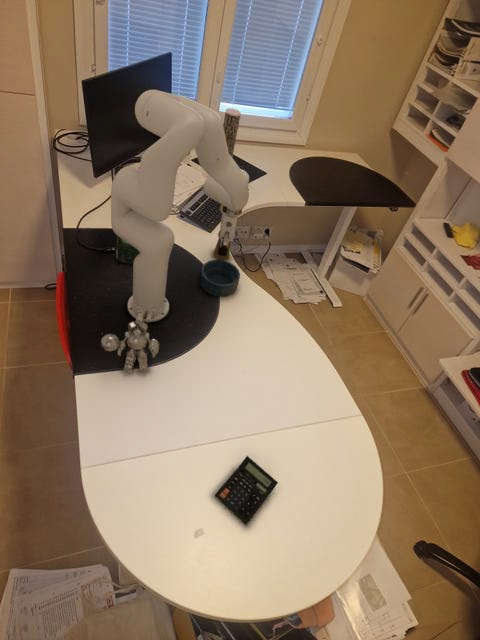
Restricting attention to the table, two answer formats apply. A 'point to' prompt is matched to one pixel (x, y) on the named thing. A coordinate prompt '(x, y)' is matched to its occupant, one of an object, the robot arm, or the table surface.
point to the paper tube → (231, 128)
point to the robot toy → (132, 345)
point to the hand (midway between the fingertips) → (222, 248)
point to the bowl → (219, 277)
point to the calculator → (246, 490)
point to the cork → (218, 249)
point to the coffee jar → (125, 252)
